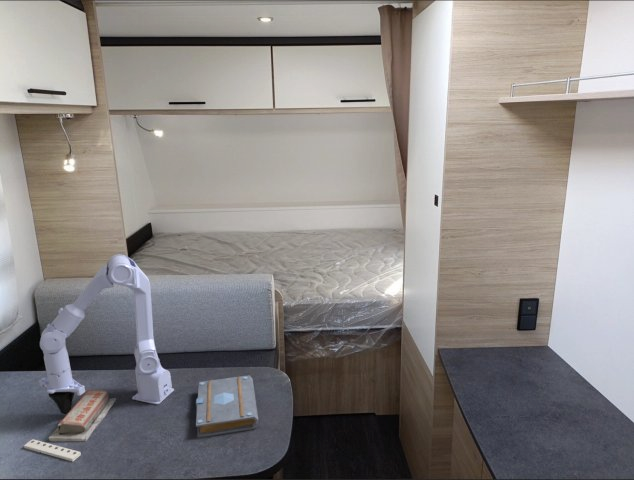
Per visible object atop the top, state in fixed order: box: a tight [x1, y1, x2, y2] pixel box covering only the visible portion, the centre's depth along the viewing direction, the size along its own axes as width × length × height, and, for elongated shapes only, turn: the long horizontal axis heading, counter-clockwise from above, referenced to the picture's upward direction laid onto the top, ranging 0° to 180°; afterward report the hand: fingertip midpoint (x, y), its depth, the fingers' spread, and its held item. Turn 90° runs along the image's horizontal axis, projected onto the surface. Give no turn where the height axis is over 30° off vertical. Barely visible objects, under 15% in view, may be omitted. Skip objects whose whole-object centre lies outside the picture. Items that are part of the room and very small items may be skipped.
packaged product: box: [48, 389, 117, 442], centre depth 128 cm, size 18×5×10 cm
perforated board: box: [23, 439, 82, 462], centre depth 116 cm, size 16×2×1 cm, turn 71°
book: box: [195, 375, 260, 438], centre depth 131 cm, size 21×16×5 cm
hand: (66, 412), depth 129 cm, fingers closed
